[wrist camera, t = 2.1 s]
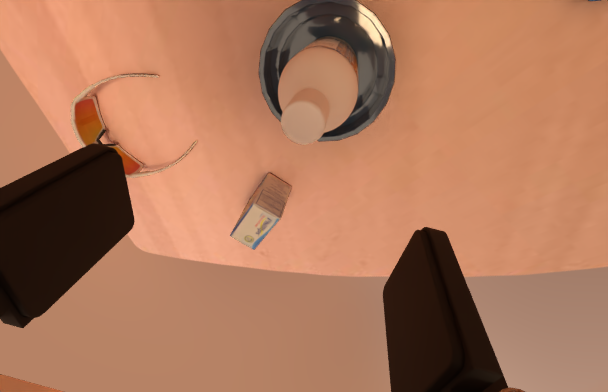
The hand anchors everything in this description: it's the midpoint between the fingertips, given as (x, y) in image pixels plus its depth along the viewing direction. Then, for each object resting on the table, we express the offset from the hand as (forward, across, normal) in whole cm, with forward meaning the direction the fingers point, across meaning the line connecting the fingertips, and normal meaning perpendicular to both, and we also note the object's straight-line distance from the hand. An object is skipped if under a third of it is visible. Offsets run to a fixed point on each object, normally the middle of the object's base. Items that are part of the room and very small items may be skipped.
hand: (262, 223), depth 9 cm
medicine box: (+31, +6, +21) cm, 38 cm away
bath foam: (+31, 0, 0) cm, 31 cm away
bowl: (+31, 0, 0) cm, 31 cm away
